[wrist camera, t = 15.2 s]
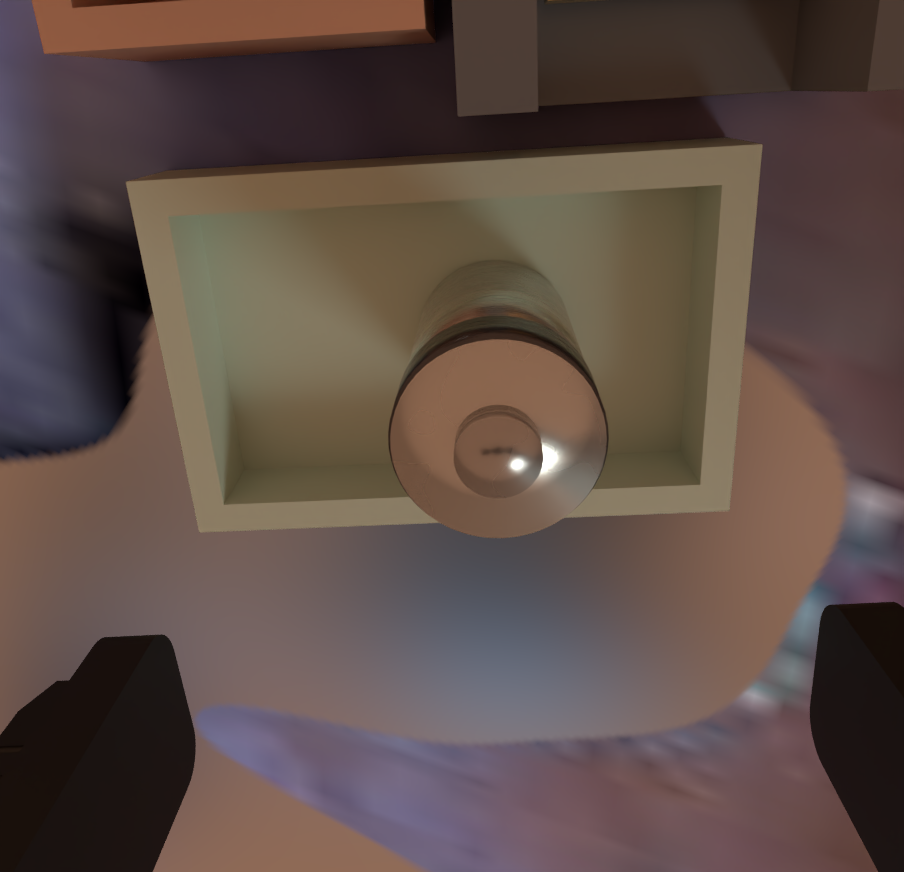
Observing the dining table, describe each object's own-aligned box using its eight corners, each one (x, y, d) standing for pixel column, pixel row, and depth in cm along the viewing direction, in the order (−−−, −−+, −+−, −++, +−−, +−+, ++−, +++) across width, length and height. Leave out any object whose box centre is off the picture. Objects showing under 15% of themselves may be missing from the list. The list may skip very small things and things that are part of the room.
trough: (702, 467, 23) (729, 510, 21) (226, 487, 24) (199, 532, 21) (727, 137, 20) (762, 144, 17) (166, 170, 20) (125, 181, 18)
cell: (571, 253, 20) (616, 342, 13) (572, 403, 22) (612, 553, 15) (410, 262, 21) (371, 355, 14) (423, 411, 22) (395, 560, 15)
